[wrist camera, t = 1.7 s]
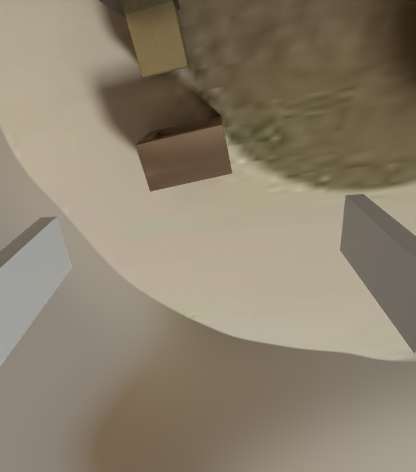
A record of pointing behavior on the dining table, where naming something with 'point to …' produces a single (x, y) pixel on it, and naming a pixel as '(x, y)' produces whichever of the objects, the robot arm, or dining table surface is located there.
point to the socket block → (184, 154)
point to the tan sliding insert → (154, 34)
